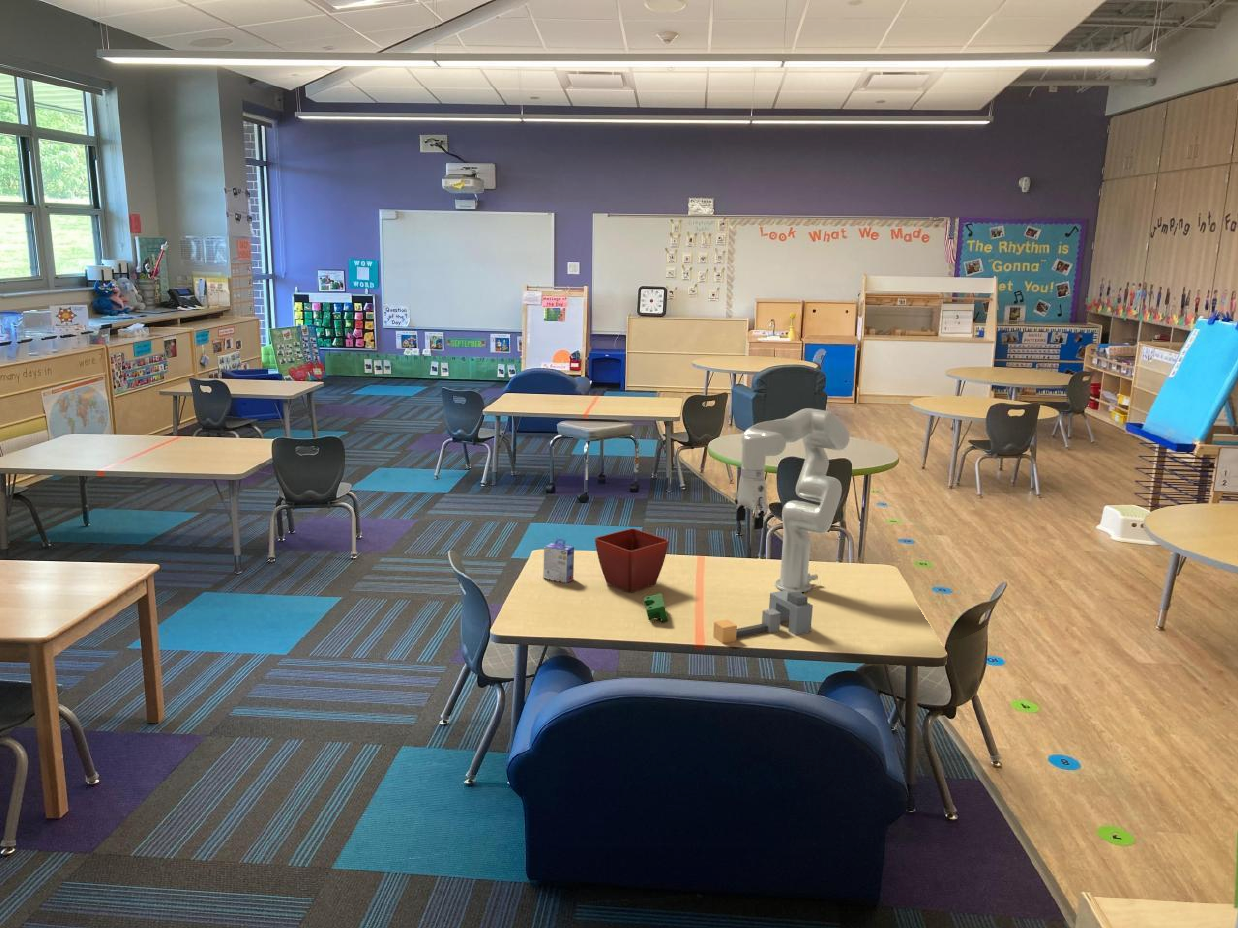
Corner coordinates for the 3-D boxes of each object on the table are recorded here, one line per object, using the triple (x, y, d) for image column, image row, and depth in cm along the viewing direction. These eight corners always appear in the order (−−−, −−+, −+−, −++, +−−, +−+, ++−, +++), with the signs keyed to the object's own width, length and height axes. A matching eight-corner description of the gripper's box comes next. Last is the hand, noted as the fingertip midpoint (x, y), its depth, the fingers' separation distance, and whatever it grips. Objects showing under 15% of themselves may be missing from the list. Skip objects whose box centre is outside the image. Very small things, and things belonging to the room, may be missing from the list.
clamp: (649, 624, 307) (643, 597, 308) (667, 620, 307) (661, 593, 308) (649, 624, 295) (643, 596, 296) (668, 620, 295) (661, 592, 296)
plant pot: (592, 582, 331) (593, 537, 327) (631, 571, 343) (633, 527, 339) (628, 598, 317) (630, 551, 313) (668, 585, 329) (670, 540, 326)
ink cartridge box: (574, 578, 333) (575, 540, 330) (567, 583, 329) (567, 544, 325) (550, 574, 338) (550, 536, 334) (542, 578, 333) (543, 540, 329)
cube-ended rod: (770, 625, 298) (771, 607, 296) (780, 631, 293) (781, 613, 292) (713, 637, 287) (714, 618, 286) (722, 643, 283) (723, 624, 282)
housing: (783, 616, 305) (785, 583, 303) (810, 631, 293) (813, 597, 291) (768, 618, 303) (770, 585, 300) (795, 635, 291) (798, 600, 288)
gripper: (778, 478, 291) (775, 530, 295) (746, 466, 306) (743, 516, 310) (759, 480, 287) (755, 533, 291) (727, 468, 302) (724, 518, 306)
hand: (749, 524), depth 301 cm, fingers open, 9 cm apart
